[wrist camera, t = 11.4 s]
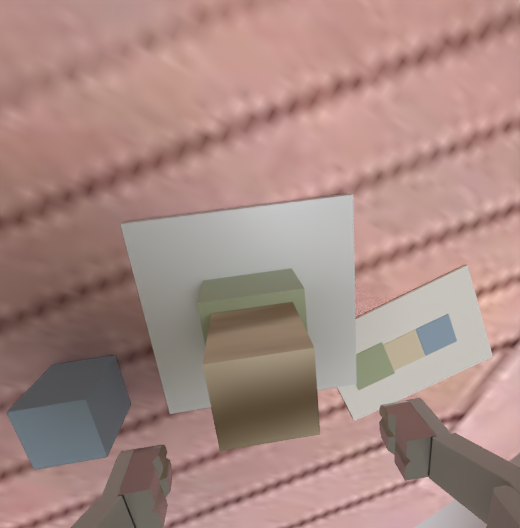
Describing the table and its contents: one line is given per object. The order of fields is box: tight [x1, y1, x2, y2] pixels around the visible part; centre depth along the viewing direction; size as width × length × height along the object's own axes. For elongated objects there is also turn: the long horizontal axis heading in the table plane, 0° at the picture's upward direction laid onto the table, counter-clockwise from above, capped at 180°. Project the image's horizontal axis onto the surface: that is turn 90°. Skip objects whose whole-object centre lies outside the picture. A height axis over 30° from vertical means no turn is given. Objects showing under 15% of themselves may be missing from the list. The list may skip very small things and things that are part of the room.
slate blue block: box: [6, 355, 131, 470], centre depth 22 cm, size 5×5×5 cm
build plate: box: [120, 194, 357, 414], centre depth 21 cm, size 16×16×5 cm
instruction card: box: [337, 265, 493, 421], centre depth 26 cm, size 10×14×1 cm
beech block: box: [203, 302, 320, 451], centre depth 16 cm, size 5×5×5 cm
